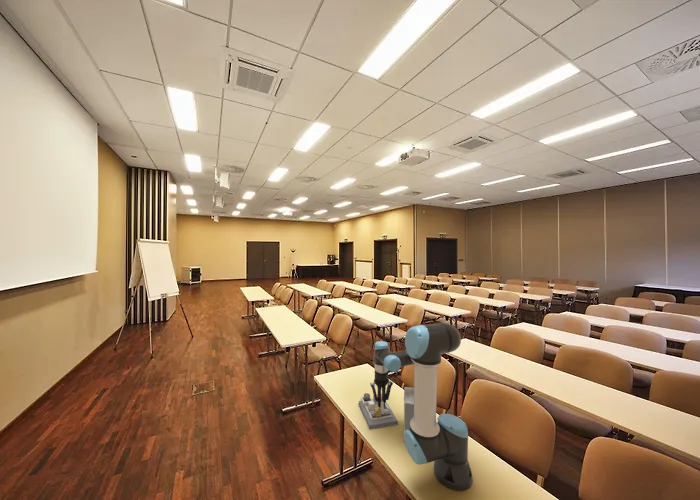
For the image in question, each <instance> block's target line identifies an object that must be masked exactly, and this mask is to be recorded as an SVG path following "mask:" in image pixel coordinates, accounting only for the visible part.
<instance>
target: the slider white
mask: <svg viewBox="0 0 700 500" xmlns="http://www.w3.org/2000/svg"><path fill="white" fill-rule="evenodd" d="M374 407H375V403H374V401H369V402H368V409H369V411H370V412H371V411H374Z"/></svg>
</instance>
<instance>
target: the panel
mask: <svg viewBox="0 0 700 500" xmlns="http://www.w3.org/2000/svg"><path fill="white" fill-rule="evenodd" d="M372 397H373V398H372ZM370 401H374V403H375V407H378V401H377V402H376V400H375V398H374V394H373V396H371V395H370ZM368 402H369V401H367V402H365V401H364V396H360V400H359V401H358V406H359V408H360V410H361V414H362V415H363V417H364V420H365V422H366V425H367V427H368V429H369V430H372V429H379V428H385V427H391V426H396V425H399V420H398V418H397V417H396V415H395V414H394V412H393V410H392V409H391V407H390V406H389V404H388V402H387V401H386V402H385V407H384V414H381V417H380V418H376V417H375V415H374V411H371V412H370V411H369V409H368Z"/></svg>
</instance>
